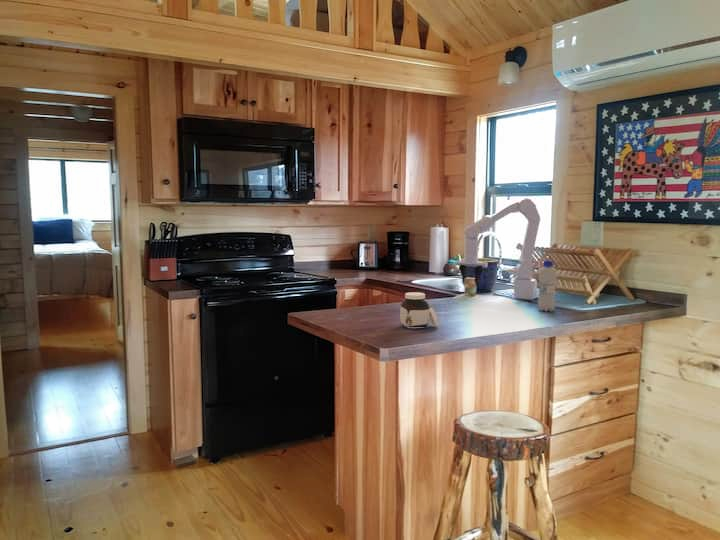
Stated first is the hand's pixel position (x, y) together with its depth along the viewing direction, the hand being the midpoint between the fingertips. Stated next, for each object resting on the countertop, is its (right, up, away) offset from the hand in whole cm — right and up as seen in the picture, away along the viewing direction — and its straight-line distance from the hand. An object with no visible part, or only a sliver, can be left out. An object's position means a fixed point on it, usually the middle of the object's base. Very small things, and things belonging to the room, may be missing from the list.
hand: (470, 282), depth 260 cm
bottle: (+24, -11, -31) cm, 40 cm away
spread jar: (-29, -14, -61) cm, 69 cm away
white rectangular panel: (+3, -7, -4) cm, 9 cm away
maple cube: (0, -2, 0) cm, 2 cm away
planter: (+7, -5, +16) cm, 18 cm away
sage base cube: (0, -6, +1) cm, 6 cm away
